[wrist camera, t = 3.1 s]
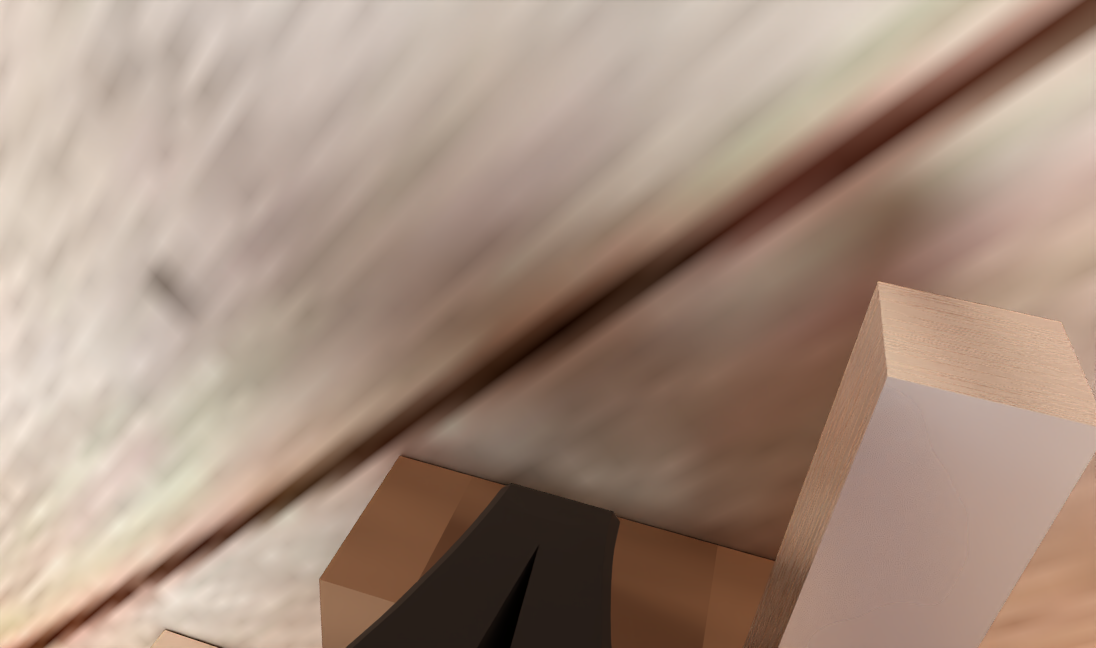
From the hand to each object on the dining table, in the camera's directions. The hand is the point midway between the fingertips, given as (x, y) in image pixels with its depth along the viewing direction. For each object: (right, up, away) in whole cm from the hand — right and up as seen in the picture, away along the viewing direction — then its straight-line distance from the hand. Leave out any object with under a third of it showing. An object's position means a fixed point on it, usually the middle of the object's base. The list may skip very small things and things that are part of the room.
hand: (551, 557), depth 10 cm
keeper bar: (+3, -5, +2) cm, 6 cm away
